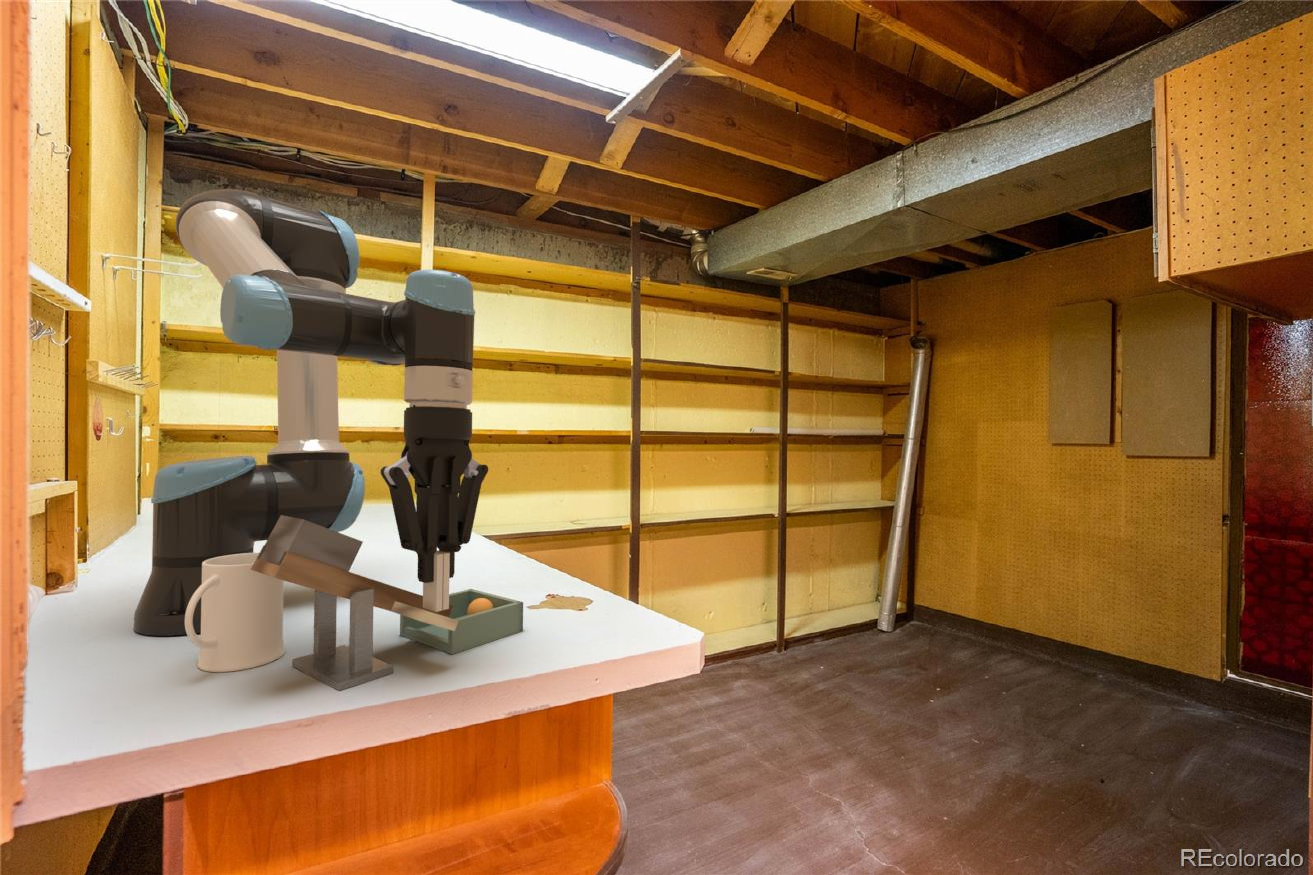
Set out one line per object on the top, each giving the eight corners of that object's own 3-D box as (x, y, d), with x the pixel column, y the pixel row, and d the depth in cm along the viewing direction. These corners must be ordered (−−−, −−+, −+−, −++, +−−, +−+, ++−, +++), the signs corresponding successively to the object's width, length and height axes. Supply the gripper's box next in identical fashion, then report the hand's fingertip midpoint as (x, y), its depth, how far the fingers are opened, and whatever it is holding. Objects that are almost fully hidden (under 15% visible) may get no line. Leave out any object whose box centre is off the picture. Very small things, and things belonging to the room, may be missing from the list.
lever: (249, 569, 62) (279, 514, 65) (417, 617, 78) (436, 572, 81) (306, 588, 55) (337, 526, 57) (478, 637, 71) (497, 587, 73)
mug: (212, 688, 62) (214, 574, 62) (147, 680, 64) (150, 569, 64) (301, 649, 74) (303, 553, 74) (244, 643, 75) (246, 550, 75)
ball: (486, 609, 86) (468, 627, 83) (476, 590, 84) (457, 608, 82) (502, 613, 84) (485, 632, 81) (492, 594, 82) (474, 613, 80)
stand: (292, 666, 68) (293, 581, 68) (344, 651, 73) (345, 572, 73) (339, 690, 62) (340, 597, 62) (393, 672, 67) (394, 586, 67)
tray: (399, 635, 79) (400, 605, 79) (470, 615, 88) (471, 588, 88) (452, 654, 72) (452, 622, 72) (522, 630, 82) (523, 602, 82)
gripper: (404, 401, 61) (400, 628, 61) (504, 408, 72) (501, 601, 72) (366, 404, 65) (363, 615, 65) (466, 410, 76) (463, 592, 76)
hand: (435, 608), depth 68 cm, fingers closed
